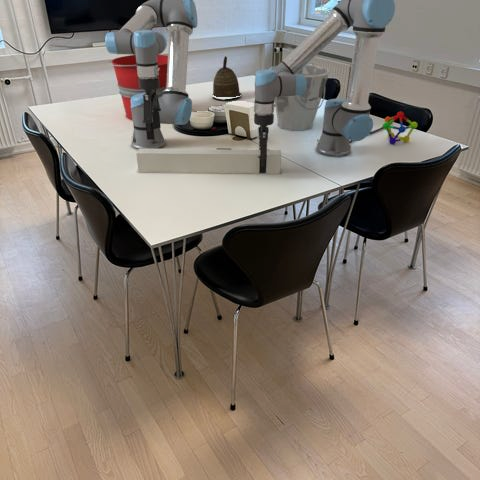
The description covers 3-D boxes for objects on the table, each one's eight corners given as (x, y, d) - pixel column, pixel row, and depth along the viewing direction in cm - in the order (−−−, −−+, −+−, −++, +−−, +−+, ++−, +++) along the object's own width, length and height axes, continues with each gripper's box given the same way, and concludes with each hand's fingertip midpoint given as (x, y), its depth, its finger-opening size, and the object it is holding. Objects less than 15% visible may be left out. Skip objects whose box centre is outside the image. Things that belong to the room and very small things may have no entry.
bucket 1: (125, 105, 263) (118, 51, 247) (184, 106, 262) (180, 52, 246) (109, 123, 234) (99, 63, 218) (175, 124, 233) (170, 64, 217)
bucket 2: (296, 138, 215) (301, 78, 201) (255, 124, 234) (256, 68, 219) (335, 125, 232) (342, 70, 217) (294, 113, 251) (297, 61, 236)
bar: (138, 172, 180) (136, 153, 175) (141, 167, 184) (139, 148, 180) (280, 173, 179) (281, 154, 175) (279, 168, 184) (280, 149, 179)
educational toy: (377, 146, 209) (379, 114, 202) (384, 138, 219) (386, 107, 211) (411, 149, 202) (415, 116, 195) (417, 141, 212) (420, 109, 204)
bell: (227, 105, 294) (202, 96, 282) (238, 66, 289) (213, 55, 277) (243, 108, 280) (217, 98, 268) (255, 66, 275) (229, 55, 263)
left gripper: (152, 85, 152) (158, 144, 163) (164, 70, 173) (168, 123, 184) (130, 84, 152) (137, 144, 163) (145, 70, 173) (150, 123, 184)
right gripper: (275, 122, 159) (272, 179, 171) (272, 105, 178) (270, 157, 190) (254, 121, 159) (253, 178, 171) (253, 105, 178) (252, 157, 190)
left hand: (154, 133), depth 174 cm, fingers open, 13 cm apart
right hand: (262, 167), depth 181 cm, fingers open, 10 cm apart
